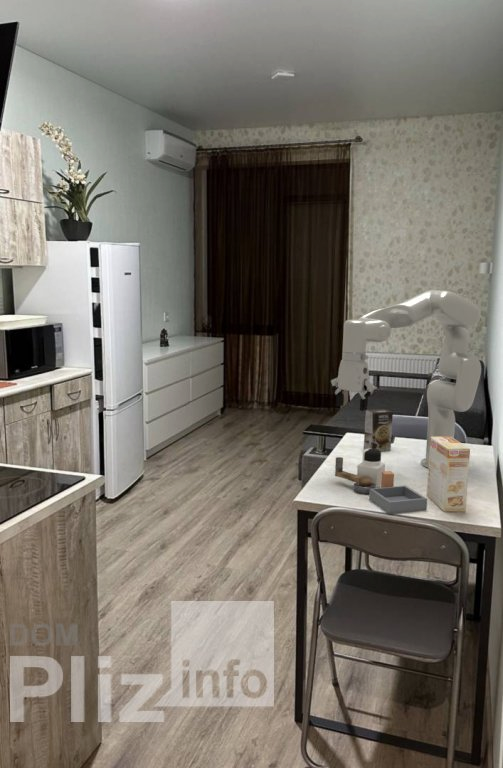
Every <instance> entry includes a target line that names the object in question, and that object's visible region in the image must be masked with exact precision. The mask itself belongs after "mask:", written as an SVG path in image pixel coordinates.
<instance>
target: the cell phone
mask: <svg viewBox="0 0 503 768" xmlns="http://www.w3.org/2000/svg"><path fill="white" fill-rule="evenodd" d="M395 438H396V435H394V434H392V435H391V445H392V444H394V442H395Z"/></svg>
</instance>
